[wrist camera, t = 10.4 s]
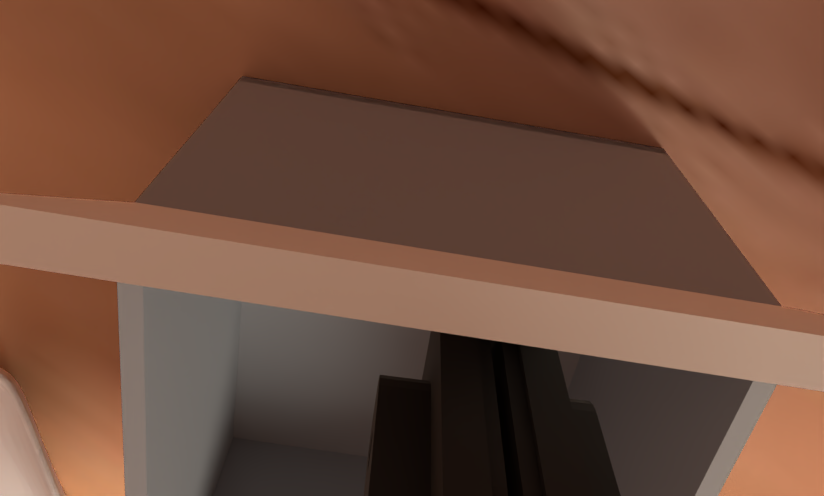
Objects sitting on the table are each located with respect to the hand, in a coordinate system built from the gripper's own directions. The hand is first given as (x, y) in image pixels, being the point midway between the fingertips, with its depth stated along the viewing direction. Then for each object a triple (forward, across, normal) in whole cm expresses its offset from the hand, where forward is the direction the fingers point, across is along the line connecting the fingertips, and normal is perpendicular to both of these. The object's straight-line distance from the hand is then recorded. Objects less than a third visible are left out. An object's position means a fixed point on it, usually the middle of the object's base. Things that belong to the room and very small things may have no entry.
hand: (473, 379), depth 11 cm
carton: (+17, 0, +10) cm, 20 cm away
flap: (+1, 0, -1) cm, 1 cm away
